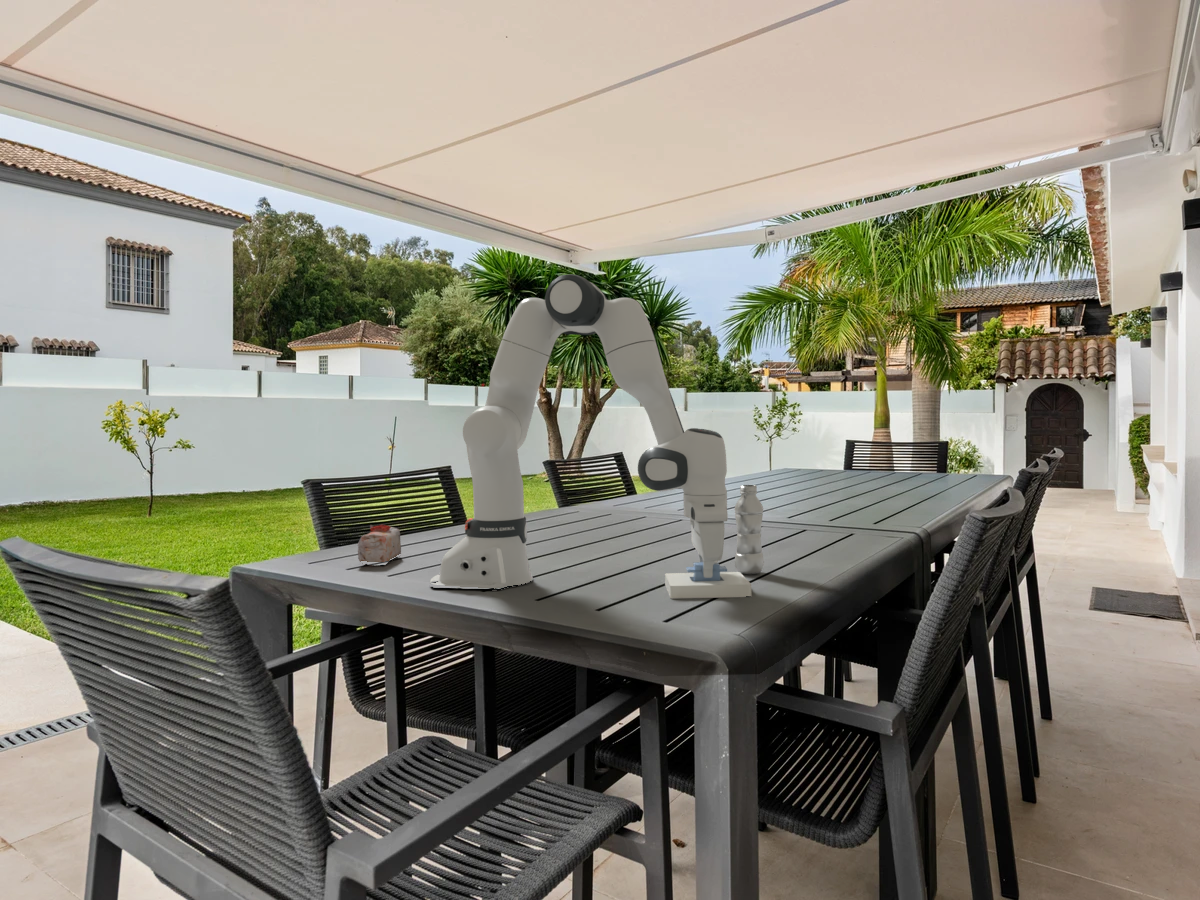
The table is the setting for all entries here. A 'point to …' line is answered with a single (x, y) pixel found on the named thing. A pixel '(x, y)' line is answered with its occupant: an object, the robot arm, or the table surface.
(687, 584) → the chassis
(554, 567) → the table surface
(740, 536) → the plastic bottle
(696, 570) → the servo
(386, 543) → the food item
